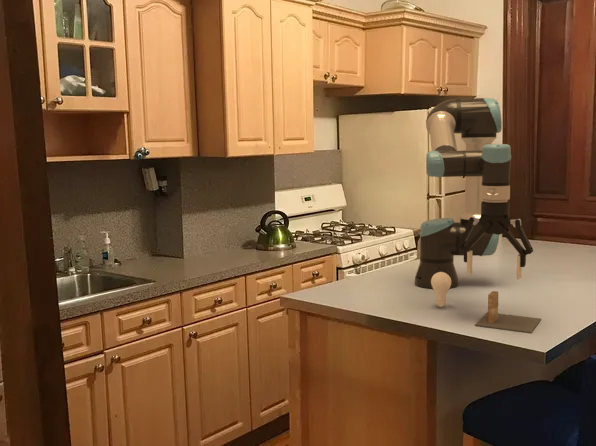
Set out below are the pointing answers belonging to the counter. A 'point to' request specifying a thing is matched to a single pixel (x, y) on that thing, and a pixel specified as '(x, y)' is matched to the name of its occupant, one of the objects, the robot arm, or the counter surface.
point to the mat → (510, 323)
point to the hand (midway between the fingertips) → (493, 276)
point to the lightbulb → (441, 287)
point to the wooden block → (493, 307)
